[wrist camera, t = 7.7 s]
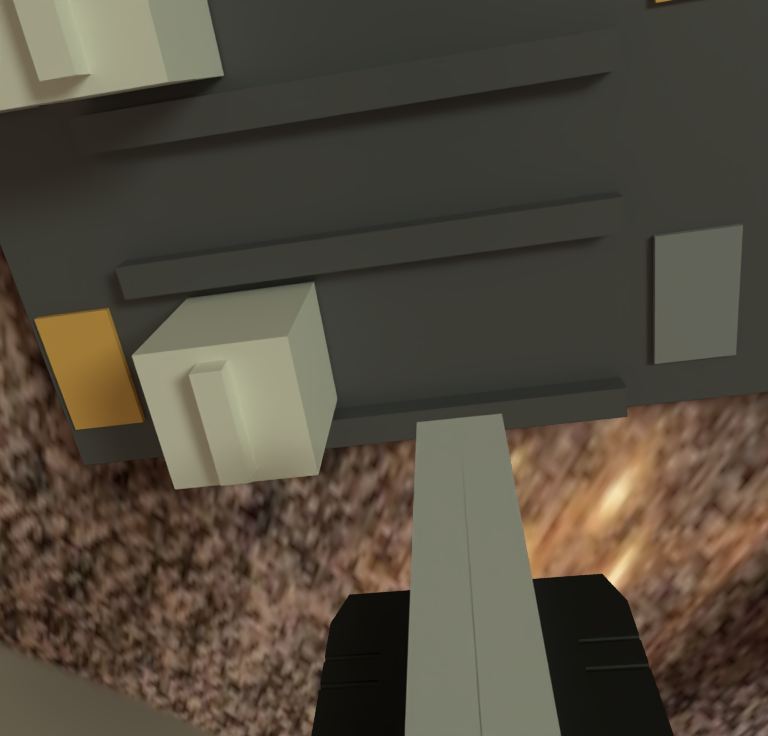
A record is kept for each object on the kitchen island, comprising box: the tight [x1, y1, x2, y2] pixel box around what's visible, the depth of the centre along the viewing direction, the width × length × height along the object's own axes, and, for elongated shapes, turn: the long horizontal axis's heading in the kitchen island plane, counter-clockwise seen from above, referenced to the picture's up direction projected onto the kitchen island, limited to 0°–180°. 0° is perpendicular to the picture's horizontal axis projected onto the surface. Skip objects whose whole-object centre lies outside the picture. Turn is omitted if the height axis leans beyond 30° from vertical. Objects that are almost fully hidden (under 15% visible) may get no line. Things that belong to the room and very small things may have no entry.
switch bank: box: [0, 0, 768, 465], centre depth 20 cm, size 17×28×3 cm, turn 99°
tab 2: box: [132, 281, 337, 489], centre depth 20 cm, size 4×4×5 cm
